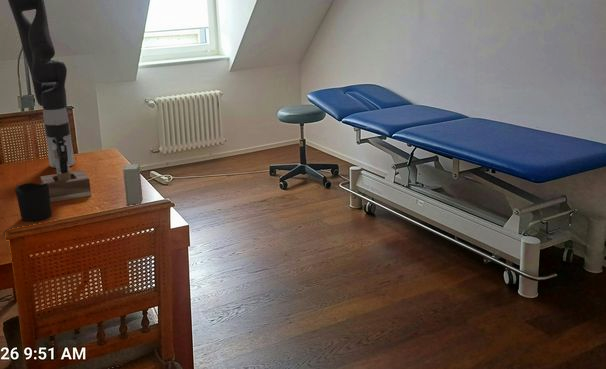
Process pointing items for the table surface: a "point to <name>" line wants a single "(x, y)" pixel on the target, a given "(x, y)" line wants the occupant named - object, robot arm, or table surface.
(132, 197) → the skincare box
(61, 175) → the sprinkles bottle
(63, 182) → the socket block
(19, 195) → the pen holder
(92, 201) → the table surface
